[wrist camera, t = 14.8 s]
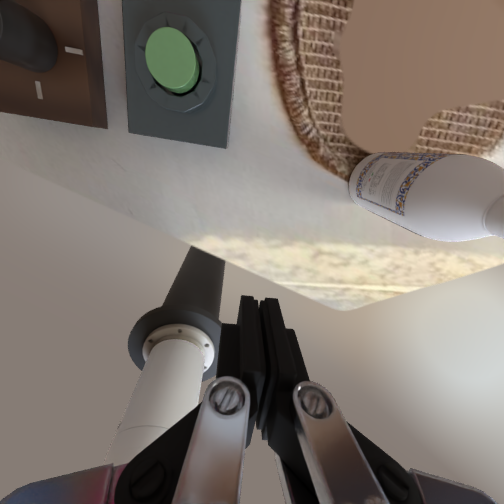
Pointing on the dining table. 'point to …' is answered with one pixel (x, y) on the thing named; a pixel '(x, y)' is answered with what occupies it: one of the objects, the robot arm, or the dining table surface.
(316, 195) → the dining table surface
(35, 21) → the dial
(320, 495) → the robot arm
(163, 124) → the grey button housing
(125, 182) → the dining table surface
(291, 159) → the dining table surface
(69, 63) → the lock base
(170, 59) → the green round button
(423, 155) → the bath foam
